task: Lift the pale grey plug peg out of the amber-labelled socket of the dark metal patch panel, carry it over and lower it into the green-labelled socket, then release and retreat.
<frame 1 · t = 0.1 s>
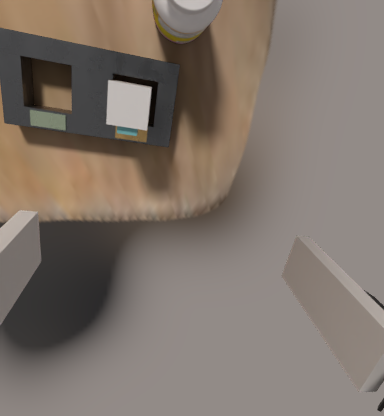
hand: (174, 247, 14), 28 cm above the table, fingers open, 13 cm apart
panel: (96, 93, 35), on the table
supplement bottle: (179, 13, 33), on the table
plug: (135, 100, 36), resting in panel
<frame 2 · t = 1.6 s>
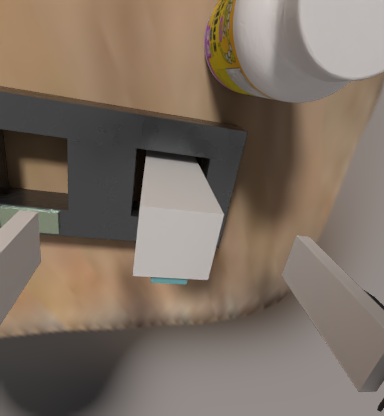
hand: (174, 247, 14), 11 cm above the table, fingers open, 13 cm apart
panel: (107, 168, 22), on the table
supplement bottle: (245, 44, 20), on the table
plug: (167, 175, 23), resting in panel
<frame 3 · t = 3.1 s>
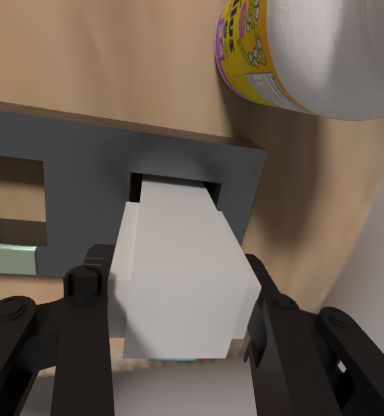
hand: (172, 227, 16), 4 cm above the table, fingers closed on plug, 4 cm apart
panel: (97, 192, 19), on the table
supplement bottle: (264, 44, 16), on the table
plug: (168, 200, 19), resting in panel, touching gripper
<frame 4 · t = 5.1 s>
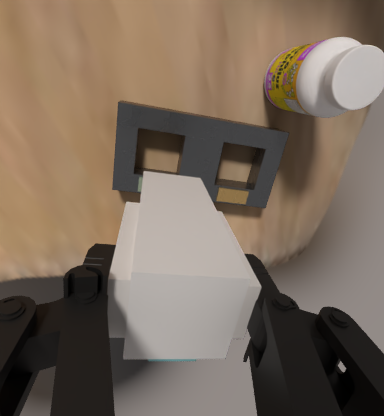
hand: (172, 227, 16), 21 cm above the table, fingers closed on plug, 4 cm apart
panel: (197, 155, 35), on the table
supplement bottle: (287, 80, 33), on the table
plug: (168, 200, 19), point 16 cm above the table, touching gripper
when the fingers open (6 cm above the table, at t = 7.1 s): plug drops 1 cm, resting in panel.
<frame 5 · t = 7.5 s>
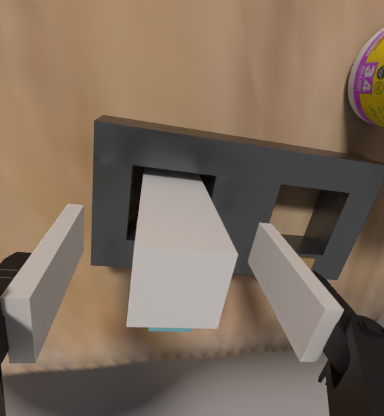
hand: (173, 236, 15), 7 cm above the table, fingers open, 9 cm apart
panel: (229, 199, 22), on the table
plug: (167, 193, 21), resting in panel
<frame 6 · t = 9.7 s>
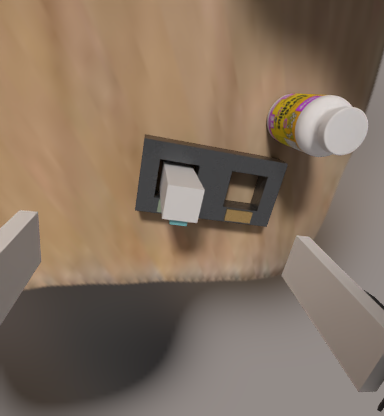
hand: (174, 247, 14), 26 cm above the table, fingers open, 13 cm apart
panel: (207, 180, 40), on the table
supplement bottle: (286, 118, 38), on the table
plug: (174, 175, 39), resting in panel
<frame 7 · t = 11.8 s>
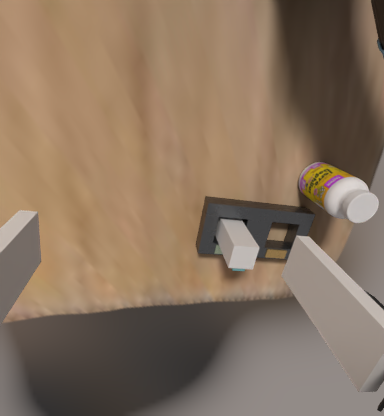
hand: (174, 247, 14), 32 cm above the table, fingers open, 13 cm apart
panel: (251, 226, 51), on the table
supplement bottle: (313, 178, 49), on the table
plug: (226, 223, 51), resting in panel
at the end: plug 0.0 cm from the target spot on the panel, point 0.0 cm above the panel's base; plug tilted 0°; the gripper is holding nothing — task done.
